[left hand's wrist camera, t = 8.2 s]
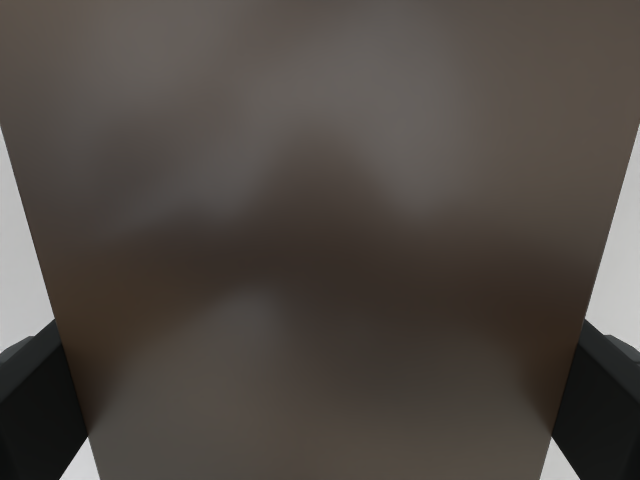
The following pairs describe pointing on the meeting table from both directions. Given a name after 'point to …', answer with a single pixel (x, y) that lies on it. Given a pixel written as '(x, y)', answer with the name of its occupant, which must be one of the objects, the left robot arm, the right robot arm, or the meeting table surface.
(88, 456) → the meeting table surface
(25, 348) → the left robot arm
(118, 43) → the cabinet
